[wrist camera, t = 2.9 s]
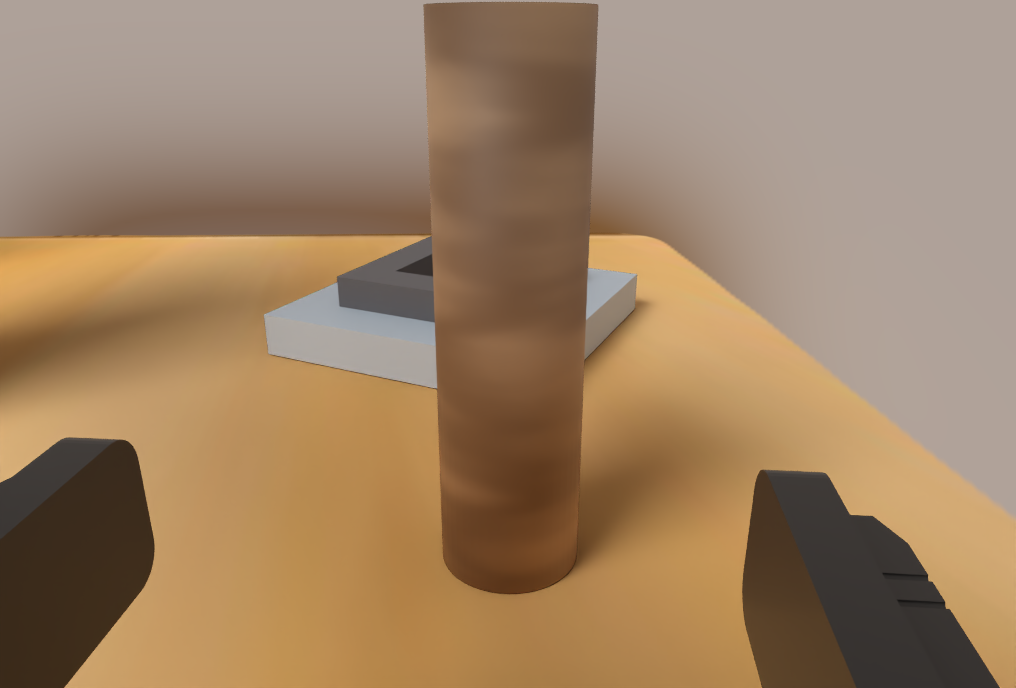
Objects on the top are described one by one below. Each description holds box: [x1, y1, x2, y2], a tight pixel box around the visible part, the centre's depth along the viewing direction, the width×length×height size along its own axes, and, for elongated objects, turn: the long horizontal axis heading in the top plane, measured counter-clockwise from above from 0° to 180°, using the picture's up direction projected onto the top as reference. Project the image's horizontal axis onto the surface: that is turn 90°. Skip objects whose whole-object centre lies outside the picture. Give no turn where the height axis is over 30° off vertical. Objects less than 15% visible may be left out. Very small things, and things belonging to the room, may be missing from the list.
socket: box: [264, 236, 637, 389], centre depth 40 cm, size 14×14×4 cm
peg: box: [424, 2, 598, 594], centre depth 21 cm, size 4×4×15 cm
